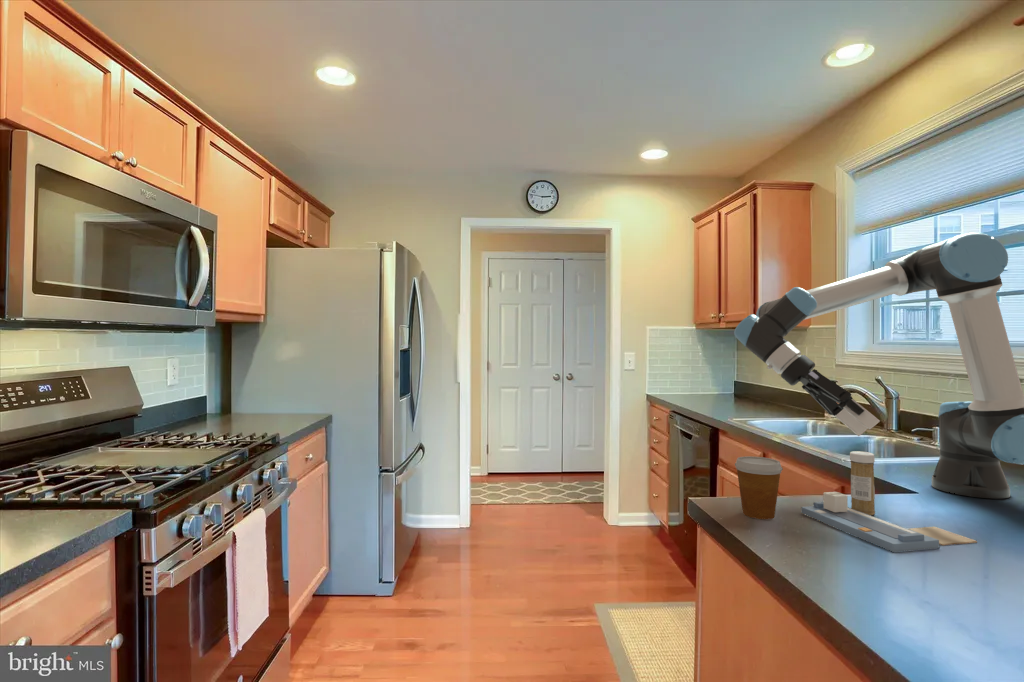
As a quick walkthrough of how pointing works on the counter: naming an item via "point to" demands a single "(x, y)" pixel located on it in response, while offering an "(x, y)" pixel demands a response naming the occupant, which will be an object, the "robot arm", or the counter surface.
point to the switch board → (872, 529)
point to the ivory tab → (835, 502)
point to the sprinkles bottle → (862, 482)
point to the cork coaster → (943, 536)
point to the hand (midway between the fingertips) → (869, 429)
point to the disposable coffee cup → (758, 485)
